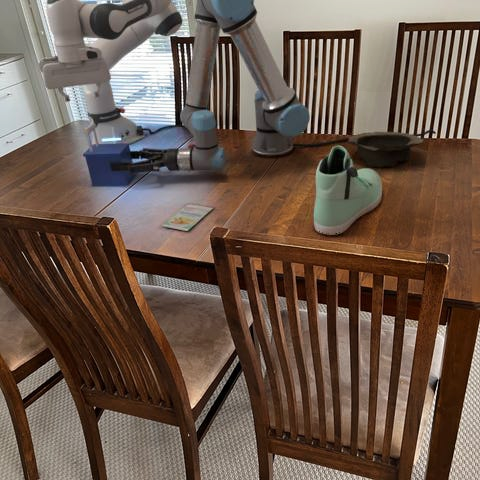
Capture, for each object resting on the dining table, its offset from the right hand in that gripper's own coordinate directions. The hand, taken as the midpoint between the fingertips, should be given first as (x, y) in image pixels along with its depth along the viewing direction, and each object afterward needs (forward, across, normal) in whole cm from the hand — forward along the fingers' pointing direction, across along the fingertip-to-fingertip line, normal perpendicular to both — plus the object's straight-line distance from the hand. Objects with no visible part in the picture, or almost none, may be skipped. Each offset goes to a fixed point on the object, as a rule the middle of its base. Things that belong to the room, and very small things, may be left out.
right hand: (116, 160), depth 165 cm
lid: (+3, 0, +4) cm, 4 cm away
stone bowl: (-91, +15, -7) cm, 93 cm away
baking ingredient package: (-30, -28, -7) cm, 42 cm away
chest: (+2, 0, -7) cm, 8 cm away
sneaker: (-77, -22, -7) cm, 80 cm away
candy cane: (-19, +25, -7) cm, 33 cm away
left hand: (+7, 0, +21) cm, 22 cm away
